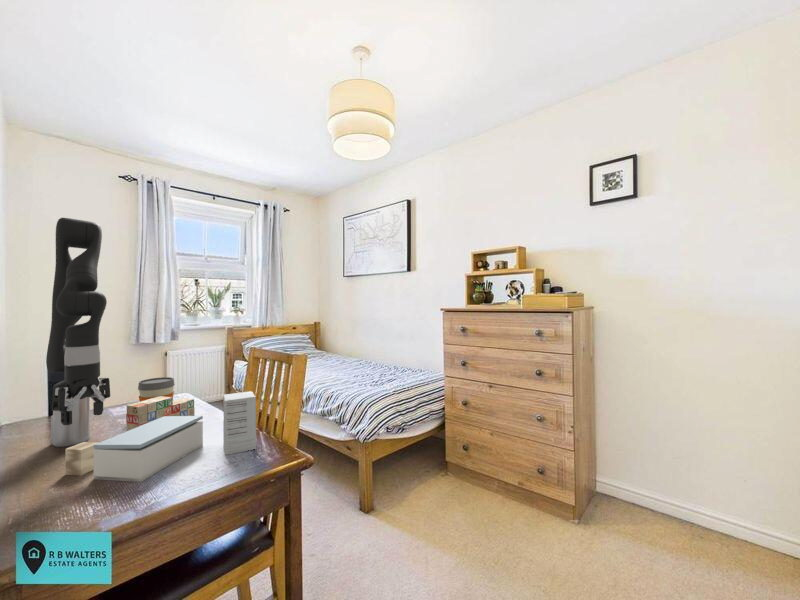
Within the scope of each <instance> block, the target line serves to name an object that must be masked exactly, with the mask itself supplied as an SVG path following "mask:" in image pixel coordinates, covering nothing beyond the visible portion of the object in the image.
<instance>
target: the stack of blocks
mask: <svg viewBox="0 0 800 600" xmlns="http://www.w3.org/2000/svg"><path fill="white" fill-rule="evenodd" d="M195 411H196V410H195V398H194V399H193V398H187V397H182V398H177V399H173V400H172V397H164V396H160V397H156V398H152V399H148V400H145V401H141V402H140V401H138V402H133V403H130V404H126V415H125V417H126V418H125V422H126V432H127V431H129V430H132V429H134V428H137V427H139V426H142V425H144V424H146V423H149V422H151V421H154V420H156V419H159V418H161V417H164V416H196V415H195Z"/></svg>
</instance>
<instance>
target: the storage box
mask: <svg viewBox="0 0 800 600" xmlns="http://www.w3.org/2000/svg"><path fill="white" fill-rule="evenodd" d="M203 429H204V421H203V420H199V421H197V422H195V423H193V424H191V425H189V426H187V427H184V428H182V429H180V430H178V431H176V432H174V433H172V434H170V435H168V436H166V437H164V438H161V439H159V440H157V441H155V442H153V443H151V444H149V445H147V446H145V447H143V448H141V449H94V470H93V480H100V481H101V480H103V481H118V482H134V483H135V482H136V483H142V482H143V481H145V480H147V479H148V478H150V477H152V476H153V475H155V474H157V473H159V472H160V471H162V470H164V469H165V468H167V467H169V466H170V465H173V464H174V463H175V462H178V460H181V459H183V458H184V457H186V456H187V455H189V454H191V453H193V452H194V451H197V449H199V448H202V447H203V446H204V434H203V433H204V430H203Z"/></svg>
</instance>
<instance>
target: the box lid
mask: <svg viewBox="0 0 800 600" xmlns="http://www.w3.org/2000/svg"><path fill="white" fill-rule="evenodd" d="M202 420H203V415H195V416H164V417H161V418H159V419H156V420H154V421H151V422H149V423H146V424H144V425H142V426H139V427H137V428H134V429H132V430H129V431H127V430H126V431H124V432H122V433H119V434H117V435H115V436H112V437H109V438H107V439H105V440H102V441H100V442H96V443H97V444H95V445H93V446H94V449H141V448H143V447H145V446H147V445H149V444H151V443H153V442H155V441H157V440H159V439H161V438H164V437H166V436H168V435H170V434H172V433H174V432H176V431H178V430H180V429H182V428H184V427H187V426H189V425H191V424H193V423H195V422H197V421H202Z"/></svg>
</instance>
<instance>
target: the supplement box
mask: <svg viewBox="0 0 800 600" xmlns="http://www.w3.org/2000/svg"><path fill="white" fill-rule="evenodd" d="M256 397H257V396H256V395H255V394H254V392H253V391H243V392H234V393H233V392H232V393H227V394H223V396H222V401H223V403H222V404H223V405H222V407H223V410H222V411H223V429H222V430H223V431H222V432H223V451H224V455H225V456H228V455H233V454H239V453H242V452H244V453H245V452H248V450H249V451H254V450H253V449H255V450H257V398H256Z"/></svg>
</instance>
